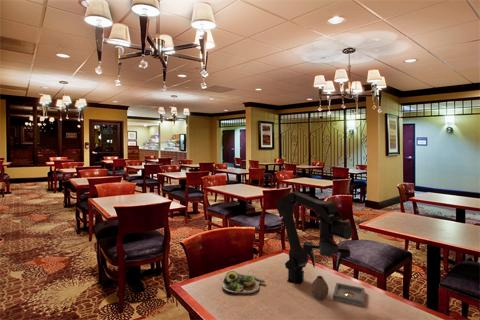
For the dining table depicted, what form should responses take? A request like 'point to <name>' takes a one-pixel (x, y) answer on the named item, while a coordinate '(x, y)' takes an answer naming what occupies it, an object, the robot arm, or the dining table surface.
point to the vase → (319, 288)
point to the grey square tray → (349, 294)
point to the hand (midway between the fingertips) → (325, 268)
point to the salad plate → (240, 283)
